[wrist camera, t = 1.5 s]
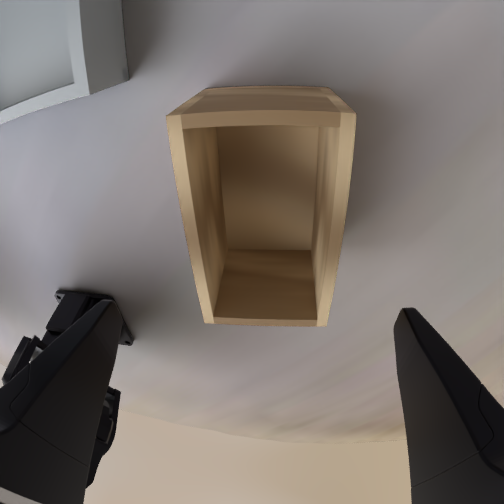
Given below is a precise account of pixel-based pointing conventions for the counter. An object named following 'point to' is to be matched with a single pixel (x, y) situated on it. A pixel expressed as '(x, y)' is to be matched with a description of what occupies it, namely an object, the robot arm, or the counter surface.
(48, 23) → the grey crate
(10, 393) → the robot arm
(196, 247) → the pine crate
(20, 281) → the counter surface
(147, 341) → the counter surface
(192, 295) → the counter surface
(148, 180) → the counter surface
